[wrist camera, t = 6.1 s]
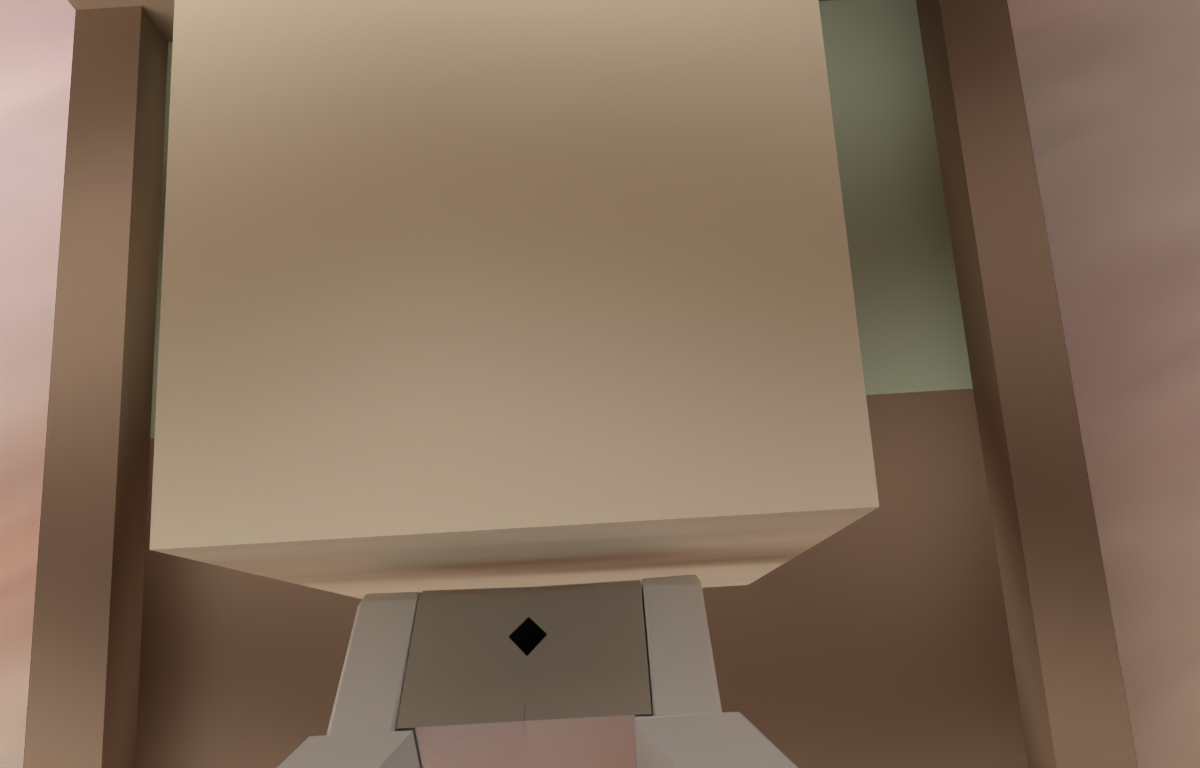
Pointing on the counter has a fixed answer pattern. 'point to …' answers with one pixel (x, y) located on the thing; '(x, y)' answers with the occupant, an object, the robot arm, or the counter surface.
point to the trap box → (734, 613)
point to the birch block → (504, 294)
